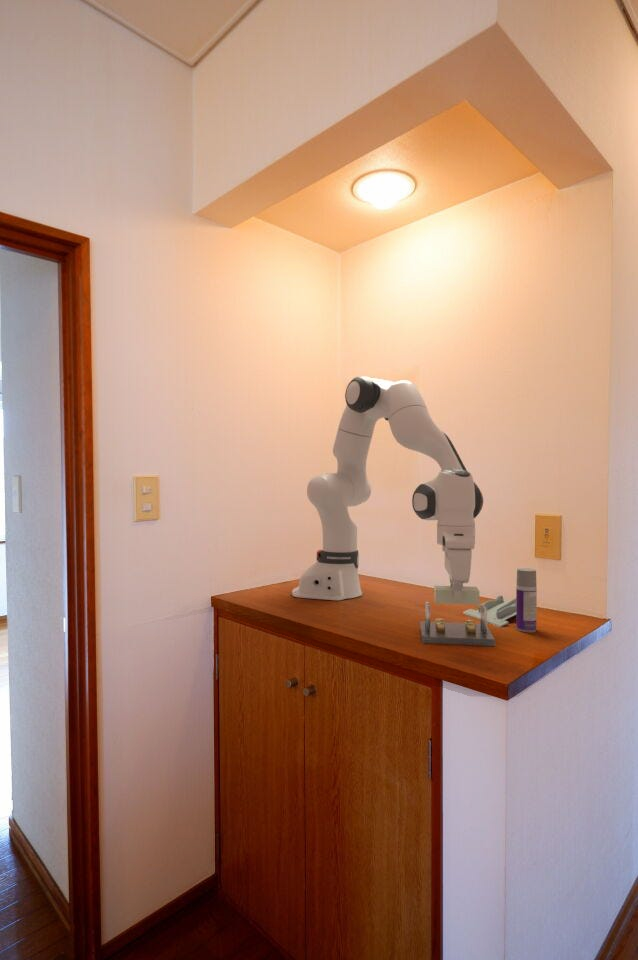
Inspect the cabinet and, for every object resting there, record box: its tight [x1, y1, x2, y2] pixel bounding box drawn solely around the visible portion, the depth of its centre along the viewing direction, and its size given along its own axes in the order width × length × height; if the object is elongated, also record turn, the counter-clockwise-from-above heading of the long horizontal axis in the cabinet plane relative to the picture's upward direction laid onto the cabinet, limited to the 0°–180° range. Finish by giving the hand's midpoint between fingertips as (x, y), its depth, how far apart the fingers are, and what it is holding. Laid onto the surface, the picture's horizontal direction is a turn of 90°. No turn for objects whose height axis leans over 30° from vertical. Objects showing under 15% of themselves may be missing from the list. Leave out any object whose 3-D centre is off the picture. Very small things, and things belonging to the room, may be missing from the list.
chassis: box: [419, 601, 496, 647], centre depth 128 cm, size 16×13×8 cm
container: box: [515, 567, 538, 633], centre depth 134 cm, size 5×5×15 cm
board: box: [433, 585, 480, 606], centre depth 128 cm, size 10×5×3 cm, turn 81°
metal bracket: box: [462, 595, 516, 628], centre depth 146 cm, size 14×6×15 cm
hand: (455, 594), depth 128 cm, fingers closed on board, 5 cm apart
